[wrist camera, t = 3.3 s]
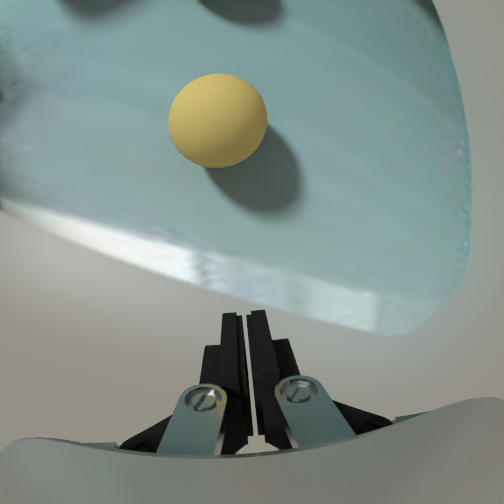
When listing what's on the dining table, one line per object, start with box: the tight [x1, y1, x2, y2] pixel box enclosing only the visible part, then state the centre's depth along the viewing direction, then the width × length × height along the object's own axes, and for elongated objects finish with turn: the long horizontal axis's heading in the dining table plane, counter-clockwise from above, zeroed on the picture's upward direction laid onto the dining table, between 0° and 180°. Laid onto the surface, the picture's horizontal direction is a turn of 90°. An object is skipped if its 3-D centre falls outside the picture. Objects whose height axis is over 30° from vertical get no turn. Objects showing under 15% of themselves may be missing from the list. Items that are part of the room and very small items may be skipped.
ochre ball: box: [168, 74, 267, 168], centre depth 14 cm, size 6×6×6 cm
